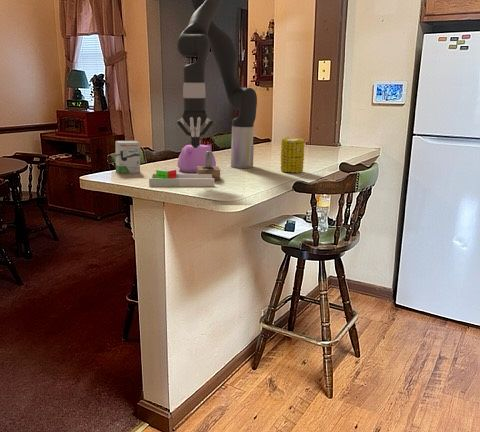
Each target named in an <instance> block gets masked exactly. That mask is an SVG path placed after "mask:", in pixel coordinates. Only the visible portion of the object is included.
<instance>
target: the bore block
mask: <svg viewBox="0 0 480 432" xmlns="http://www.w3.org/2000/svg"><path fill="white" fill-rule="evenodd" d="M196 174H212V178H214V182H216V181H221V168H220V167H219V166H218V165H216V166H212V169H205V166H197V173H196Z"/></svg>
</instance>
